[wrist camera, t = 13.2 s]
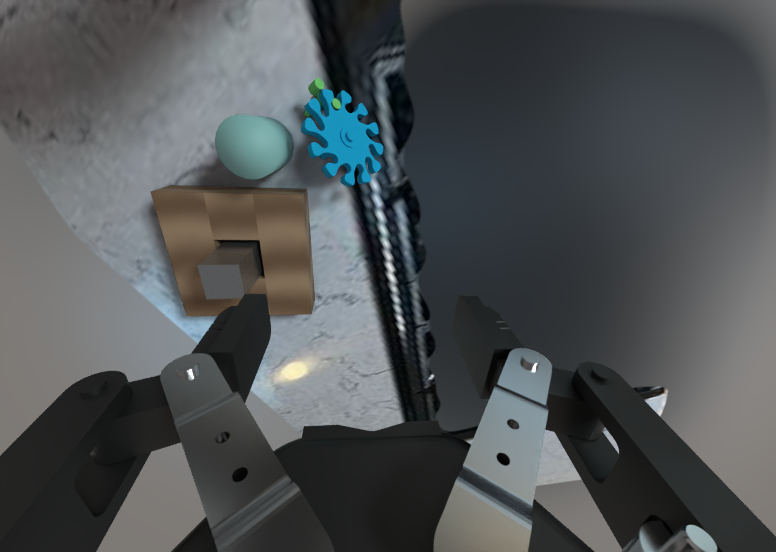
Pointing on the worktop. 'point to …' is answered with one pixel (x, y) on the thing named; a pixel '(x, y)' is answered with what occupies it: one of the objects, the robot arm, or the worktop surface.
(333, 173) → the gear
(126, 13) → the worktop surface
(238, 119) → the round peg
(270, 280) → the socket block
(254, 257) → the square peg
